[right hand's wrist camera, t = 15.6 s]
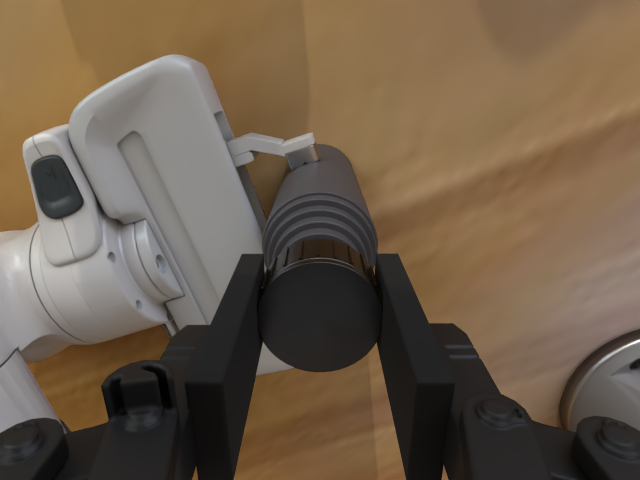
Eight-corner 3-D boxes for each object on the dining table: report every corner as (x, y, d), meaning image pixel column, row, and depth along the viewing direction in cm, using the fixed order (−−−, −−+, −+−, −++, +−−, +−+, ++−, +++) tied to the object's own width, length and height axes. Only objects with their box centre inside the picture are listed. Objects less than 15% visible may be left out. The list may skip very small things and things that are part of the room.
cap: (394, 256, 14) (405, 282, 12) (354, 350, 16) (359, 387, 14) (280, 221, 14) (274, 243, 12) (250, 322, 15) (240, 355, 13)
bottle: (350, 214, 32) (388, 382, 14) (283, 209, 32) (238, 372, 14) (357, 147, 30) (411, 244, 12) (287, 141, 30) (240, 230, 12)
